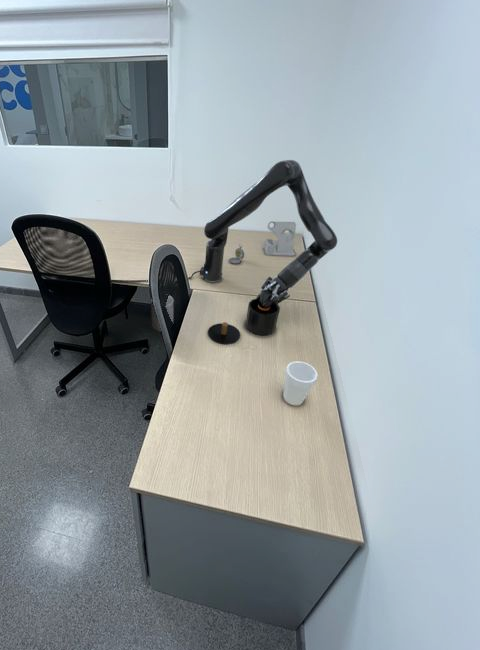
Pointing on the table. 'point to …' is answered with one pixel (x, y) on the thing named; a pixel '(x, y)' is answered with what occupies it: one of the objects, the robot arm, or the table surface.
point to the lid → (224, 333)
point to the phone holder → (281, 239)
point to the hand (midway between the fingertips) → (260, 303)
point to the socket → (264, 300)
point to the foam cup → (298, 382)
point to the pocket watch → (237, 252)
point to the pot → (261, 319)
